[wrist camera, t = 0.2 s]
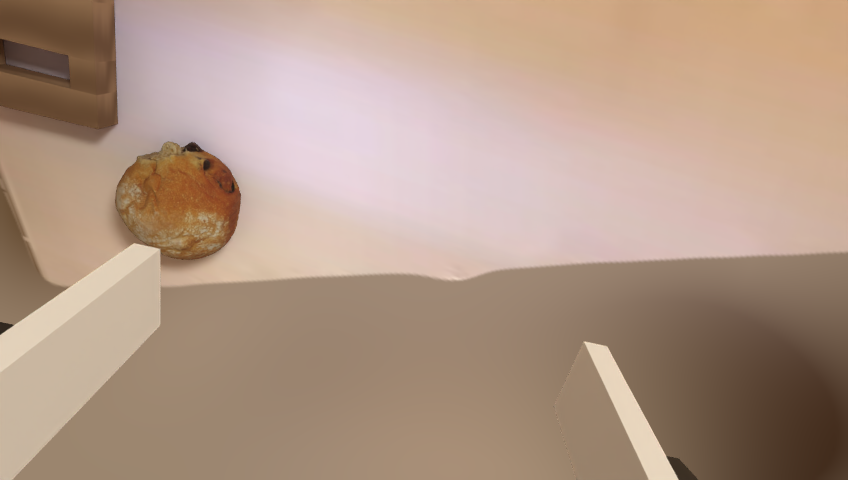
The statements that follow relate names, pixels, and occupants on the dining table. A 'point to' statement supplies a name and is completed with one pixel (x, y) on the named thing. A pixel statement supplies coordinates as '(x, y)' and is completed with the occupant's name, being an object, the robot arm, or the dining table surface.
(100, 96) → the socket block
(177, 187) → the bread roll
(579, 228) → the dining table surface
